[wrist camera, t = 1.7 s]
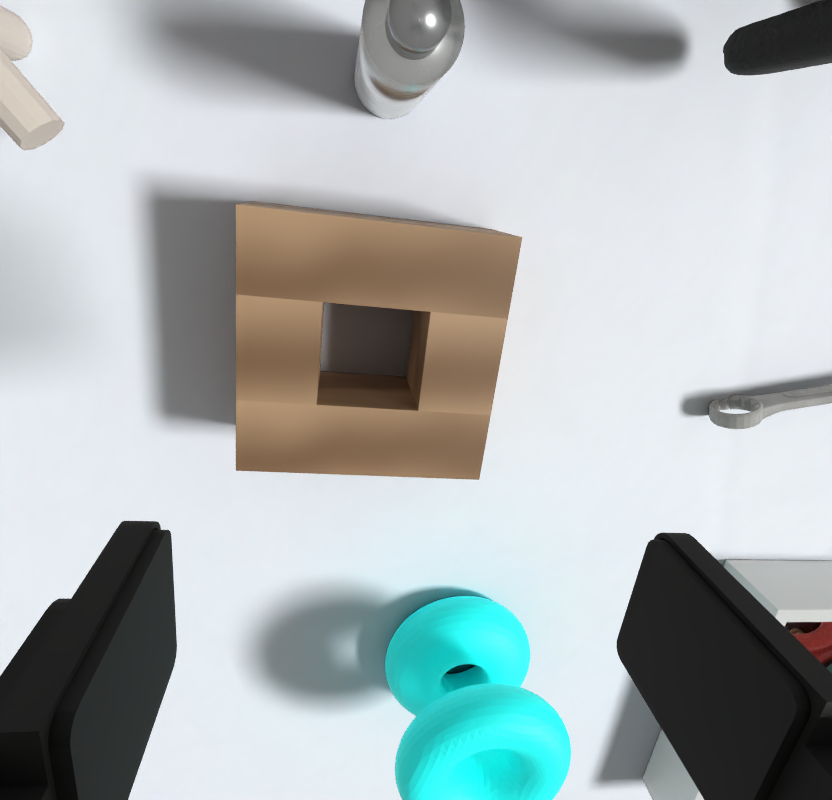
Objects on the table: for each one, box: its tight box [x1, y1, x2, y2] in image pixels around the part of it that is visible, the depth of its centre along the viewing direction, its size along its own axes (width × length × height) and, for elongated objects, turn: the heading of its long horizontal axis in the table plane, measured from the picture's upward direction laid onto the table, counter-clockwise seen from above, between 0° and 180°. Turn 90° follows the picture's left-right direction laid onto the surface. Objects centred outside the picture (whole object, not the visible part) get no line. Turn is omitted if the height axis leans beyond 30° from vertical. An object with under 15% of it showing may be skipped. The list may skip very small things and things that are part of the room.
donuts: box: [385, 596, 571, 800], centre depth 34 cm, size 10×10×10 cm
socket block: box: [236, 202, 522, 480], centre depth 27 cm, size 12×12×5 cm
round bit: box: [354, 0, 465, 119], centre depth 20 cm, size 3×3×10 cm
